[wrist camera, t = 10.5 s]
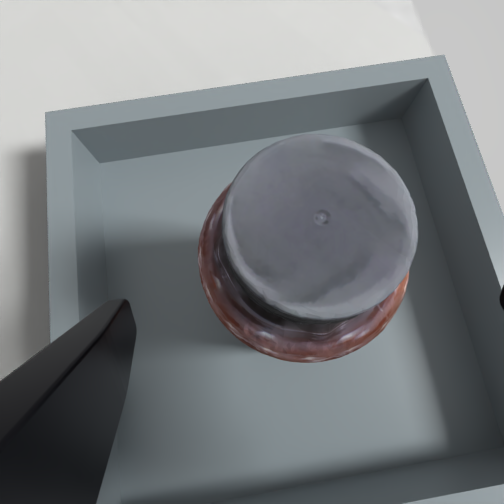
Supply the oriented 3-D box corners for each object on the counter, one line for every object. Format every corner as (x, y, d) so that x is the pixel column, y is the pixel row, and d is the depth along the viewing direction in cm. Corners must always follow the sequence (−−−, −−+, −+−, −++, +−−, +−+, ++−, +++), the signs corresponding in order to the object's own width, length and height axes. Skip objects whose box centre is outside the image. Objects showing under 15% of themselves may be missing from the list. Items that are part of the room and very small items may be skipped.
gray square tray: (526, 465, 17) (608, 502, 13) (104, 545, 16) (55, 611, 12) (409, 106, 22) (444, 54, 18) (83, 155, 21) (45, 112, 17)
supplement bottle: (263, 216, 19) (274, 44, 8) (361, 274, 18) (524, 171, 7) (201, 310, 18) (112, 260, 7) (302, 377, 17) (390, 445, 6)
